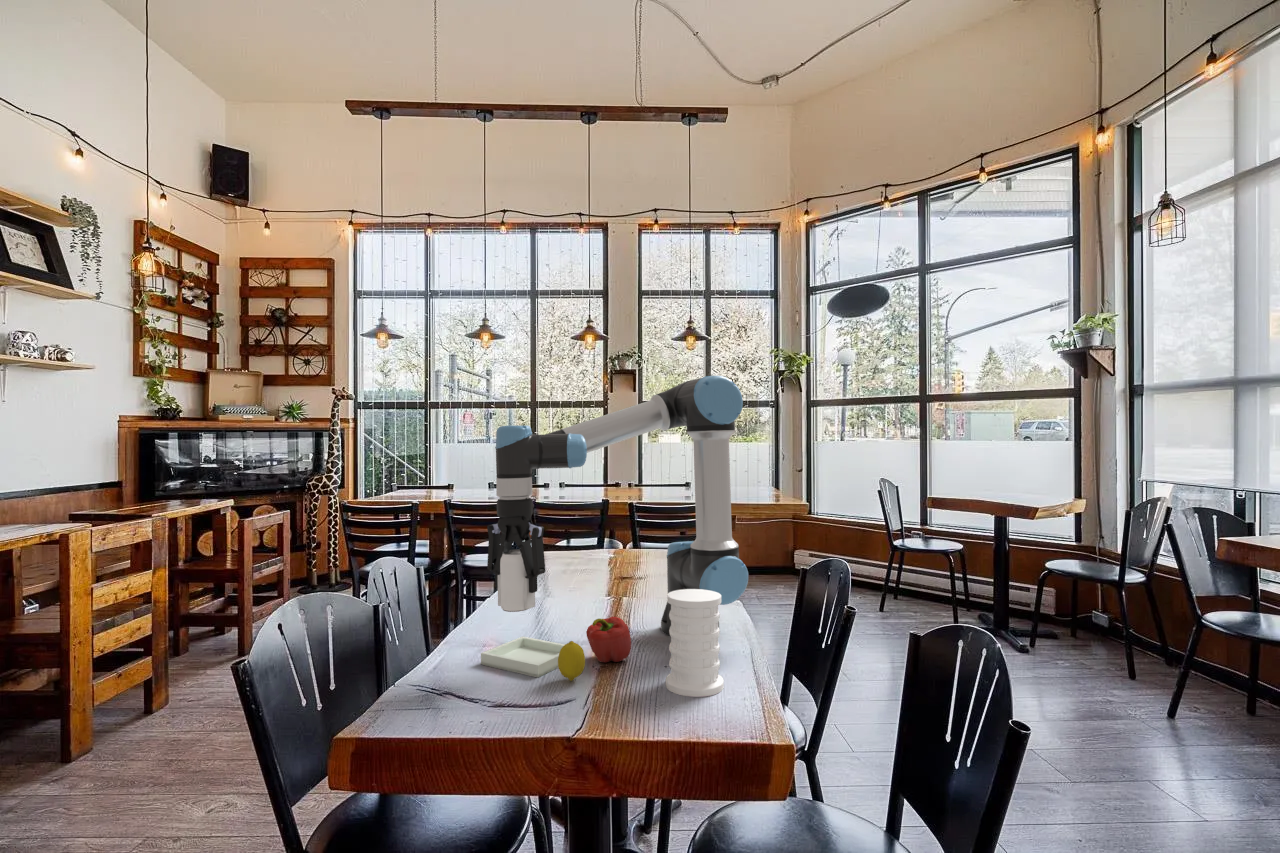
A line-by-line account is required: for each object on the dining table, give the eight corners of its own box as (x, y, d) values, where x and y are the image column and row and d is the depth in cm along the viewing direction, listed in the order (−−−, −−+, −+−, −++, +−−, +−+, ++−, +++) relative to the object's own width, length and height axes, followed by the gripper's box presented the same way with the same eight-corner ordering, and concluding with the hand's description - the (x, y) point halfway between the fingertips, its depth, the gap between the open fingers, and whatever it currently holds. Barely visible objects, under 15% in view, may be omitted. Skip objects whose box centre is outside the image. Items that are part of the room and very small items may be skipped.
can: (533, 603, 138) (532, 548, 138) (530, 611, 131) (529, 553, 131) (503, 604, 137) (502, 549, 137) (498, 612, 131) (497, 554, 131)
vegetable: (610, 672, 133) (610, 624, 134) (574, 662, 140) (574, 617, 140) (641, 658, 142) (641, 614, 142) (606, 649, 148) (606, 607, 149)
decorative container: (720, 675, 132) (720, 588, 132) (726, 697, 120) (726, 602, 121) (665, 674, 132) (665, 588, 133) (666, 696, 120) (665, 601, 121)
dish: (577, 657, 143) (577, 646, 143) (538, 677, 130) (538, 665, 131) (522, 646, 151) (522, 636, 151) (480, 664, 138) (480, 653, 138)
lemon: (555, 678, 130) (555, 638, 131) (581, 674, 132) (581, 635, 133) (561, 687, 125) (561, 646, 125) (588, 683, 127) (588, 643, 127)
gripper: (562, 497, 134) (564, 606, 133) (491, 495, 143) (493, 597, 142) (540, 500, 127) (542, 615, 126) (468, 498, 136) (469, 605, 135)
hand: (516, 605), depth 134 cm, fingers closed on can, 6 cm apart
